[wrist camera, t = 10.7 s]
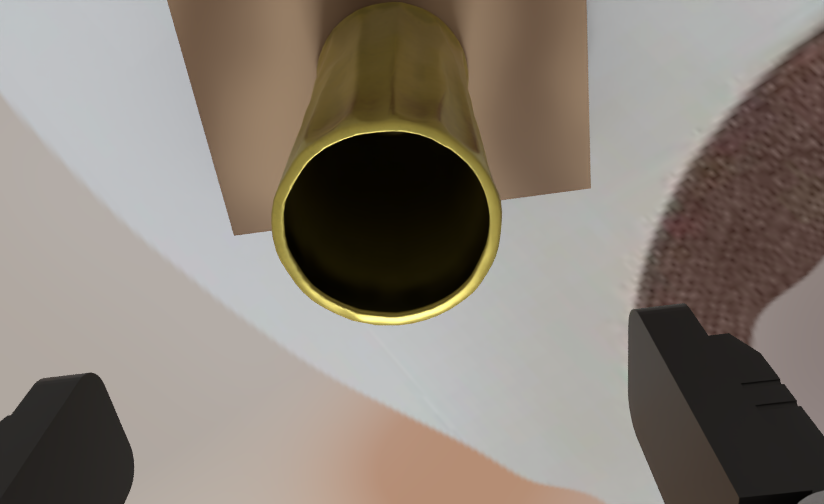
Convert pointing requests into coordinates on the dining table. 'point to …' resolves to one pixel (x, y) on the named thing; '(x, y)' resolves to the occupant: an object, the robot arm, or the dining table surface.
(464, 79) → the vase
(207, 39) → the walnut shelf
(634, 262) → the dining table surface
